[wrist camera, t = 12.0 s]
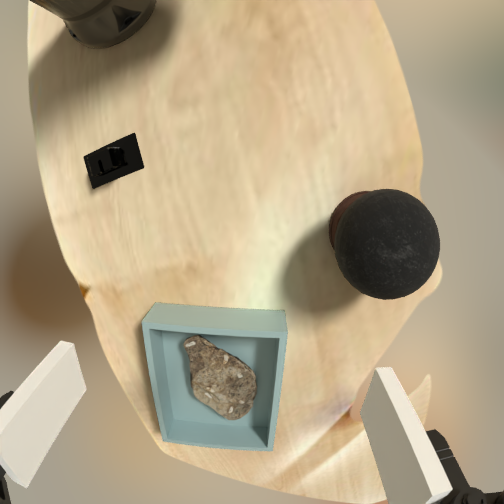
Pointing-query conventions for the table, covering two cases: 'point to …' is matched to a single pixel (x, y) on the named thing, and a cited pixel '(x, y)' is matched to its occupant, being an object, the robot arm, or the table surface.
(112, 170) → the build plate
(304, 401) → the table surface
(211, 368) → the rock
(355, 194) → the black globe on stand
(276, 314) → the storage tub
